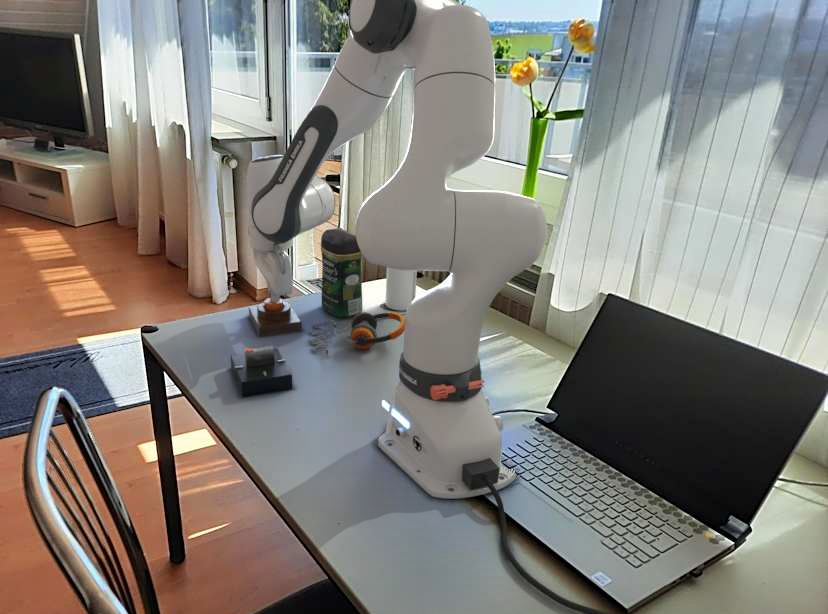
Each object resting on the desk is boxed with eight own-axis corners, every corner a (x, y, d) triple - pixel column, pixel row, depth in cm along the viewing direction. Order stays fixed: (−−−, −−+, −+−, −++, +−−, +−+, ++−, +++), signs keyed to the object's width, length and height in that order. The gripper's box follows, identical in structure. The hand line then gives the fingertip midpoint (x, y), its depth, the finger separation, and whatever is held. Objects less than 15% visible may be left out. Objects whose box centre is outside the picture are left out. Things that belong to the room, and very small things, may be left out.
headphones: (310, 312, 140) (401, 294, 138) (316, 333, 142) (406, 316, 140) (302, 347, 125) (405, 328, 123) (309, 371, 128) (410, 352, 125)
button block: (301, 331, 138) (301, 313, 136) (259, 336, 135) (258, 319, 133) (288, 311, 147) (287, 294, 145) (249, 316, 144) (247, 299, 143)
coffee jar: (316, 307, 150) (314, 228, 141) (345, 300, 153) (346, 223, 145) (337, 322, 142) (337, 240, 134) (367, 314, 146) (369, 234, 138)
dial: (272, 360, 120) (271, 344, 118) (274, 363, 118) (274, 347, 117) (245, 364, 118) (244, 348, 117) (247, 368, 117) (246, 351, 115)
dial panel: (293, 389, 116) (292, 373, 115) (241, 397, 113) (240, 381, 112) (278, 361, 125) (277, 347, 124) (230, 368, 123) (229, 353, 121)
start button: (285, 310, 138) (285, 303, 138) (266, 312, 137) (266, 305, 136) (280, 303, 142) (280, 296, 141) (262, 305, 141) (262, 298, 140)
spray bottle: (420, 305, 151) (425, 229, 143) (401, 313, 147) (405, 236, 139) (398, 297, 156) (401, 223, 147) (379, 305, 151) (381, 229, 143)
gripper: (299, 250, 125) (301, 316, 131) (275, 222, 142) (277, 281, 148) (267, 254, 123) (270, 320, 129) (246, 224, 140) (250, 284, 146)
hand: (274, 299), depth 139 cm, fingers closed
